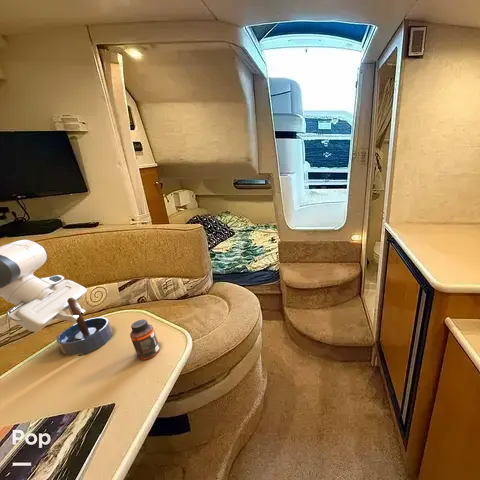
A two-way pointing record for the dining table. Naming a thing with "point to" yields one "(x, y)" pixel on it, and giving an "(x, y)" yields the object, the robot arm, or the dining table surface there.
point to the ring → (88, 342)
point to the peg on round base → (80, 321)
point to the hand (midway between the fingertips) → (80, 316)
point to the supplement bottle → (144, 339)
